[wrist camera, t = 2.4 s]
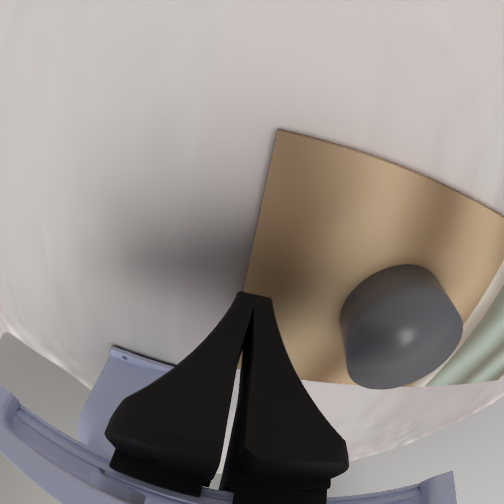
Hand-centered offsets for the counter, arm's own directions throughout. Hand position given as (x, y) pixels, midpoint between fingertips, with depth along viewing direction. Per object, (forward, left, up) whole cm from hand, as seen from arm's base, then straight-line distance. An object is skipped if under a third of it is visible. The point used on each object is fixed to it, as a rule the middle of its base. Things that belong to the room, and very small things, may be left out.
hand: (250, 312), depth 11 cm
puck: (+7, 0, -2) cm, 8 cm away
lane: (+13, 0, -3) cm, 14 cm away
